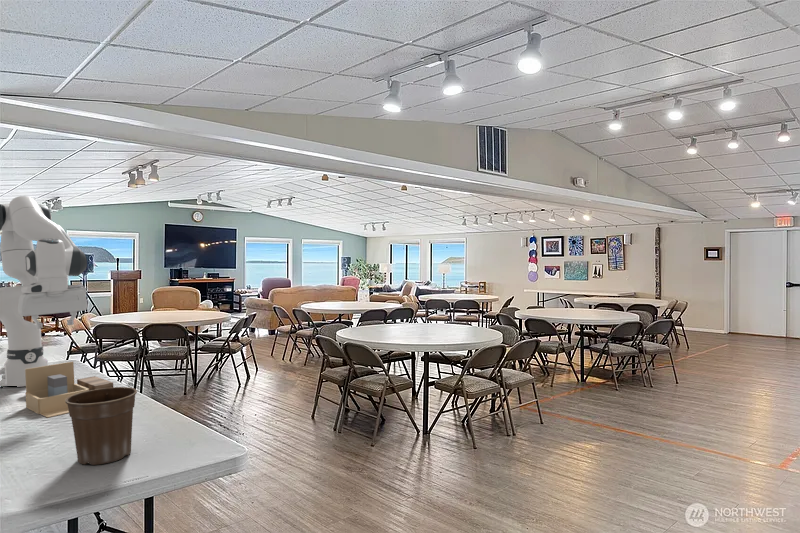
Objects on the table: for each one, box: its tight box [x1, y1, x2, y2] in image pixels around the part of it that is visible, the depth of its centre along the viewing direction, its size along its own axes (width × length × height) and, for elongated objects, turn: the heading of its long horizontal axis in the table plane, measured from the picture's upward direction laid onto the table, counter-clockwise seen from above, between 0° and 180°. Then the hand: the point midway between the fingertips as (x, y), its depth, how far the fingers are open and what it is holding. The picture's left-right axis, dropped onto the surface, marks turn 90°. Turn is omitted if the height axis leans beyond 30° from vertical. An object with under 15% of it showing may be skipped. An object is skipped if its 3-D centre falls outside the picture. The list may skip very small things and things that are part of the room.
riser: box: [76, 375, 114, 391], centre depth 200 cm, size 16×6×6 cm, turn 50°
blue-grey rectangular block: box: [47, 374, 68, 397], centre depth 190 cm, size 6×4×10 cm, turn 50°
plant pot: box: [65, 386, 138, 466], centre depth 143 cm, size 16×16×16 cm
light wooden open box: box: [25, 361, 89, 419], centre depth 188 cm, size 20×16×13 cm
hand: (55, 326), depth 190 cm, fingers open, 8 cm apart
